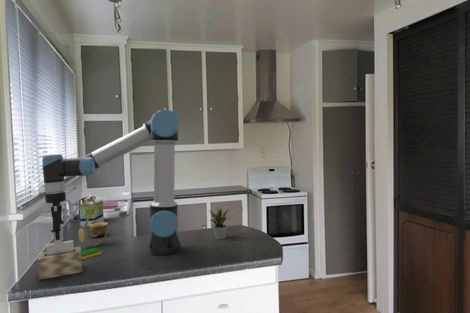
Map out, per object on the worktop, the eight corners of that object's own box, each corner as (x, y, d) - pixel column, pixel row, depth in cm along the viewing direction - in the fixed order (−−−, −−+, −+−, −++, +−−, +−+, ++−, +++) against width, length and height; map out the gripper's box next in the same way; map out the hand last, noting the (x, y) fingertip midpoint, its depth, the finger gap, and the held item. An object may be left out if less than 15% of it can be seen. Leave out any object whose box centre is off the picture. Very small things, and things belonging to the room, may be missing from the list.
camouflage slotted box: (81, 264, 158) (80, 246, 158) (82, 271, 148) (80, 252, 148) (41, 271, 152) (39, 252, 151) (39, 279, 142) (37, 259, 142)
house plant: (240, 239, 183) (238, 207, 182) (213, 243, 178) (211, 210, 177) (230, 233, 196) (228, 203, 196) (205, 237, 192) (203, 206, 191)
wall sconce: (86, 250, 179) (82, 200, 178) (78, 247, 186) (74, 199, 185) (112, 243, 189) (109, 196, 188) (104, 241, 196) (100, 194, 195)
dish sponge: (102, 254, 173) (101, 249, 173) (74, 263, 162) (73, 257, 162) (94, 252, 177) (93, 247, 177) (66, 260, 167) (65, 255, 167)
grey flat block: (74, 261, 154) (73, 240, 153) (74, 263, 151) (73, 241, 150) (48, 265, 150) (46, 244, 149) (47, 267, 147) (45, 245, 146)
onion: (92, 242, 206) (82, 228, 204) (100, 234, 215) (91, 220, 212) (105, 237, 203) (95, 222, 201) (113, 228, 212) (104, 214, 210)
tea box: (95, 226, 236) (94, 203, 235) (80, 226, 236) (78, 204, 235) (104, 220, 251) (102, 199, 250) (89, 221, 251) (88, 200, 250)
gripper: (47, 190, 159) (51, 238, 160) (42, 196, 136) (46, 253, 137) (66, 188, 162) (69, 235, 163) (64, 194, 139) (68, 249, 140)
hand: (59, 243), depth 150 cm, fingers open, 13 cm apart
